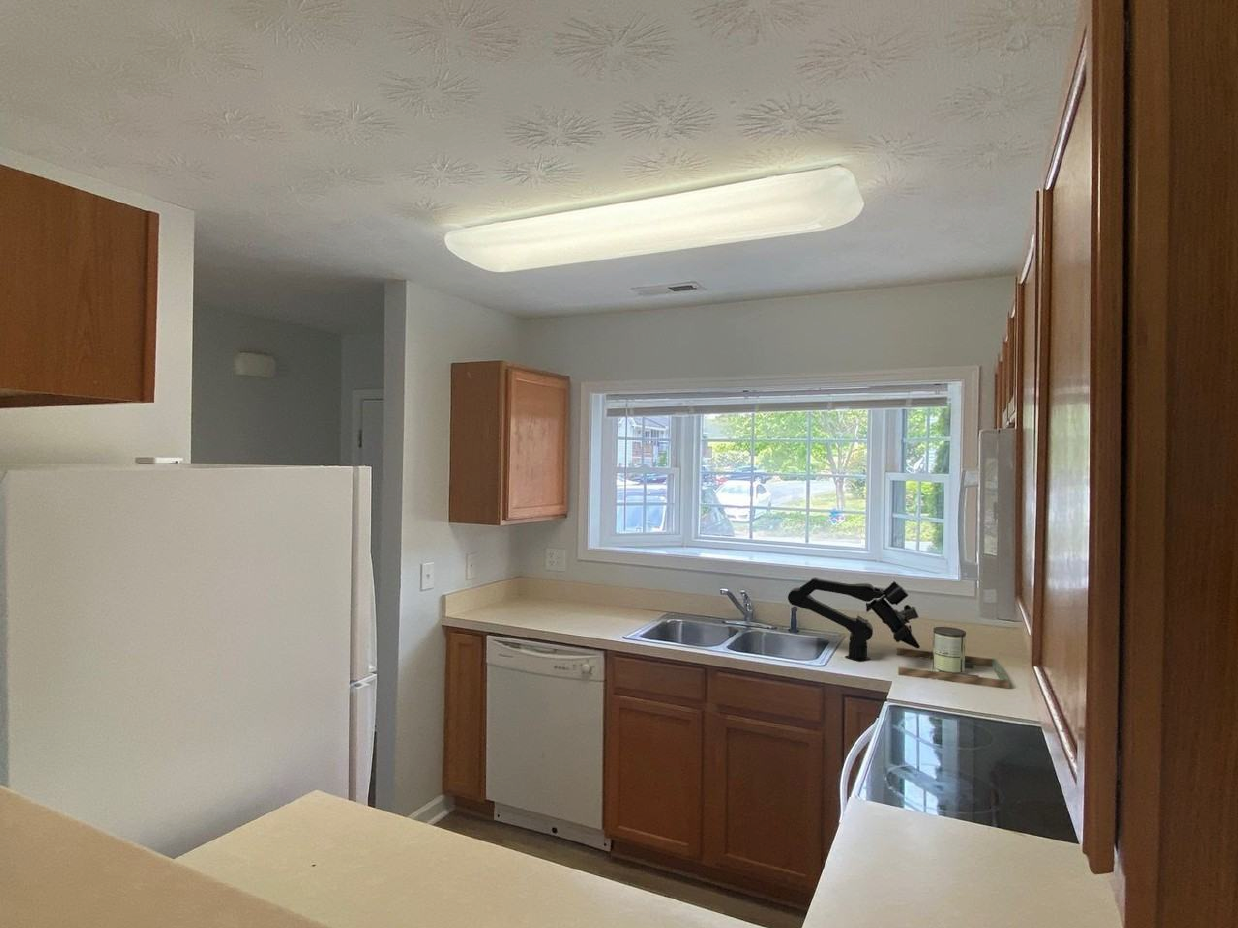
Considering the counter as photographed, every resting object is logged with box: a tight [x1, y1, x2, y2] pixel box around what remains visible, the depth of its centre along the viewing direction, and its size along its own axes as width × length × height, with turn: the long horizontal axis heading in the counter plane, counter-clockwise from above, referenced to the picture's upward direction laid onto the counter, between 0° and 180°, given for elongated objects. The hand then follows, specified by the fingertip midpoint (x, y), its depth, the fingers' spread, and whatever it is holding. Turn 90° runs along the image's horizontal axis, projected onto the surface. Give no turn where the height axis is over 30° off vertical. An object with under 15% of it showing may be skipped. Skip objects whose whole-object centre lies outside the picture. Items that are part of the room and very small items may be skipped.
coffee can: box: [932, 626, 967, 674], centre depth 239 cm, size 10×10×14 cm
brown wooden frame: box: [896, 647, 1010, 690], centre depth 239 cm, size 33×27×3 cm
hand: (918, 647), depth 242 cm, fingers closed
